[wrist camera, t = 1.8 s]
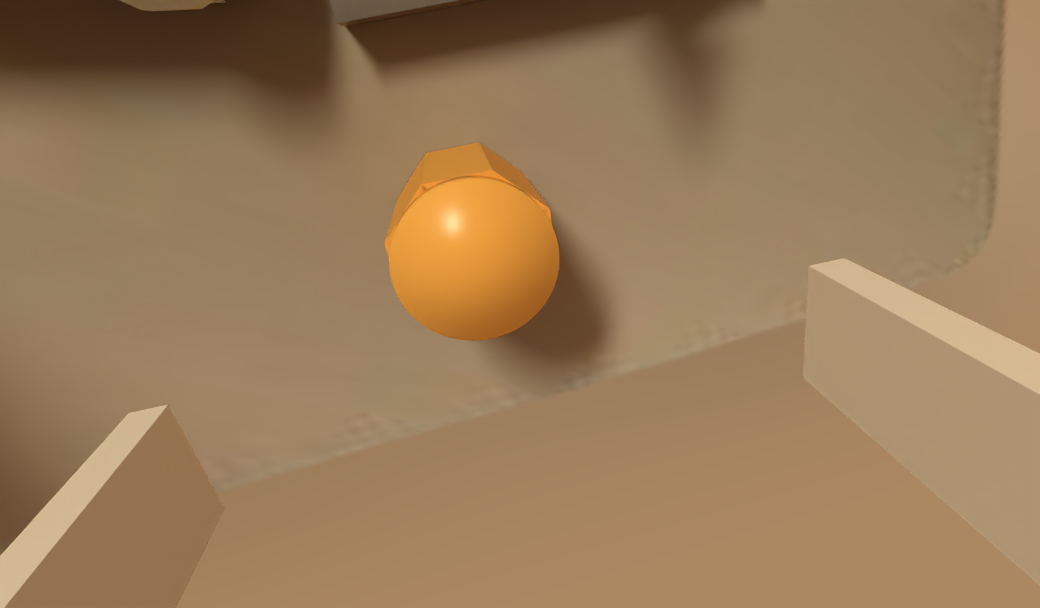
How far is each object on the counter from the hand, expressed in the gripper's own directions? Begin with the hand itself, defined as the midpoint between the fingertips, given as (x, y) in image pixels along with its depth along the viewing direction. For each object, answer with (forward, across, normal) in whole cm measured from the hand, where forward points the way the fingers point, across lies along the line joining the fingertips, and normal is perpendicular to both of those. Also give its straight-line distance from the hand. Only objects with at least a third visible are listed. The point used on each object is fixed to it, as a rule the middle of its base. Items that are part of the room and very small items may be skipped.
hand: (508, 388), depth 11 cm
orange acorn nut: (+15, 0, 0) cm, 15 cm away
